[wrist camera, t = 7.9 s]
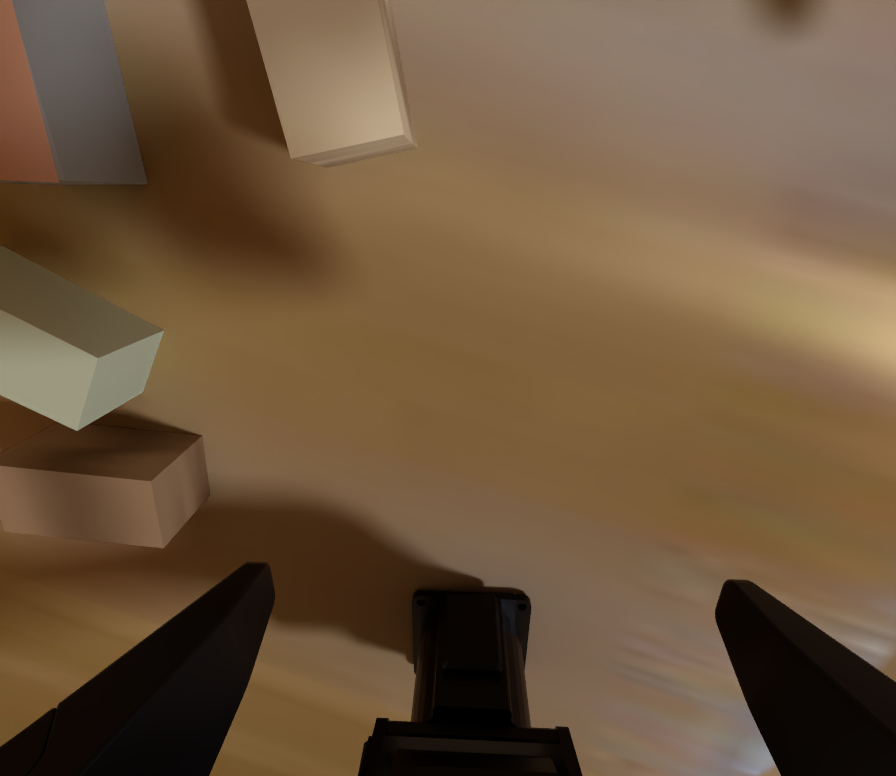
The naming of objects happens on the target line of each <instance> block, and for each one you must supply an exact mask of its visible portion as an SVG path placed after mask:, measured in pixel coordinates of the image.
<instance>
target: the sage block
mask: <svg viewBox="0 0 896 776" xmlns="http://www.w3.org/2000/svg"><path fill="white" fill-rule="evenodd" d="M163 332H164V330H162V329H160V328H159V327H157V326H155V325H153V324H151V323H149V322H147V321H145V320H143V319H141V318H139V317H137V316H136V315H134V314H132V313H130V312H128V311H126V310H124V309H122V308H120V307H118V306H116V305H115V304H113V303H111V302H109V301H107V300H105V299H103V298H101V297H99V296H97V295H95V294H94V293H92V292H90V291H88V290H86V289H84V288H82V287H80V286H78V285H76V284H74V283H73V282H71V281H69V280H67V279H65V278H63V277H61V276H59V275H57V274H55V273H53V272H51V271H50V270H48V269H46V268H44V267H42V266H40V265H38V264H36V263H34V262H32V261H30V260H29V259H27V258H25V257H23V256H21V255H19V254H17V253H15V252H13V251H11V250H9V249H8V248H6V247H4V246H0V395H1V396H3V397H6V398H8V399H10V400H12V401H14V402H16V403H18V404H20V405H23V406H25V407H27V408H29V409H31V410H33V411H35V412H37V413H40V414H42V415H44V416H46V417H48V418H50V419H52V420H55V421H57V422H59V423H61V424H63V425H65V426H67V427H69V428H72V429H74V430H76V431H78V430H80V429H81V428H83V427H85V426H86V425H88V424H90V423H91V422H93V421H95V420H97V419H98V418H100V417H102V416H103V415H105V414H107V413H109V412H110V411H112V410H114V409H115V408H117V407H119V406H120V405H122V404H124V403H126V402H127V401H129V400H131V399H132V398H134V397H136V396H138V395H139V394H141V393H143V390H144V387H145V384H146V382H147V379H148V376H149V373H150V370H151V367H152V364H153V361H154V358H155V355H156V352H157V350H158V347H159V344H160V341H161V338H162V335H163Z"/></svg>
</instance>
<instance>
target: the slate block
mask: <svg viewBox="0 0 896 776" xmlns="http://www.w3.org/2000/svg"><path fill="white" fill-rule="evenodd" d="M12 3H13V7H14V10H15V14H16V18H17V22H18V26H19V30H20V34H21V37H22V41H23V45H24V49H25V53H26V57H27V61H28V64H29V68H30V72H31V76H32V80H33V84H34V88H35V91H36V95H37V99H38V103H39V107H40V111H41V115H42V118H43V122H44V126H45V130H46V134H47V138H48V142H49V145H50V149H51V153H52V157H53V161H54V165H55V169H56V172H57V176H58V180H59V183H48V182H27V181H6V180H0V183H21V184H46V185H137V184H148V183H147V179H146V174H145V170H144V166H143V162H142V158H141V154H140V149H139V145H138V141H137V137H136V133H135V128H134V124H133V120H132V116H131V112H130V108H129V103H128V99H127V95H126V91H125V87H124V82H123V78H122V74H121V70H120V66H119V61H118V57H117V53H116V49H115V45H114V41H113V36H112V32H111V28H110V24H109V20H108V15H107V11H106V7H105V3H104V0H12Z"/></svg>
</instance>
